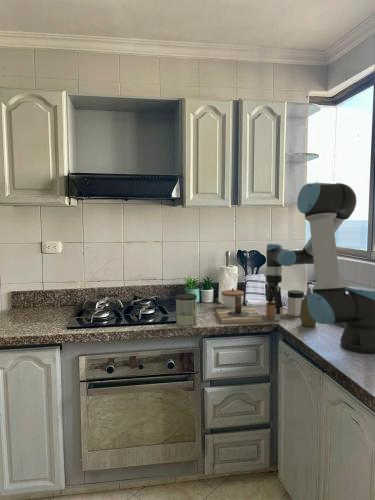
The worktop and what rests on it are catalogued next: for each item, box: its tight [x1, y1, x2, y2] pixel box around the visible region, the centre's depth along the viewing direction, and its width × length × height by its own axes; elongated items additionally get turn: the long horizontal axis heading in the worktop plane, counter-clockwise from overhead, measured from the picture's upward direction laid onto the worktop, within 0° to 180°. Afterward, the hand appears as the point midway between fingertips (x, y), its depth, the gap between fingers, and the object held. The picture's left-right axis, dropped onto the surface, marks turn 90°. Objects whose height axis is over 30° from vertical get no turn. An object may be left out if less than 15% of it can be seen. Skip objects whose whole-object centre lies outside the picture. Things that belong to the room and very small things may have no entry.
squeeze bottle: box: [299, 286, 317, 328], centre depth 169 cm, size 8×8×18 cm
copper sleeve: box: [265, 301, 283, 321], centre depth 183 cm, size 8×8×7 cm
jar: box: [287, 289, 305, 317], centre depth 189 cm, size 9×8×12 cm
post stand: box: [215, 296, 264, 325], centre depth 184 cm, size 20×20×11 cm
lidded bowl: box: [221, 288, 245, 309], centre depth 205 cm, size 13×13×11 cm
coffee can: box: [174, 293, 198, 328], centre depth 174 cm, size 10×10×14 cm
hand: (273, 317), depth 184 cm, fingers open, 11 cm apart
